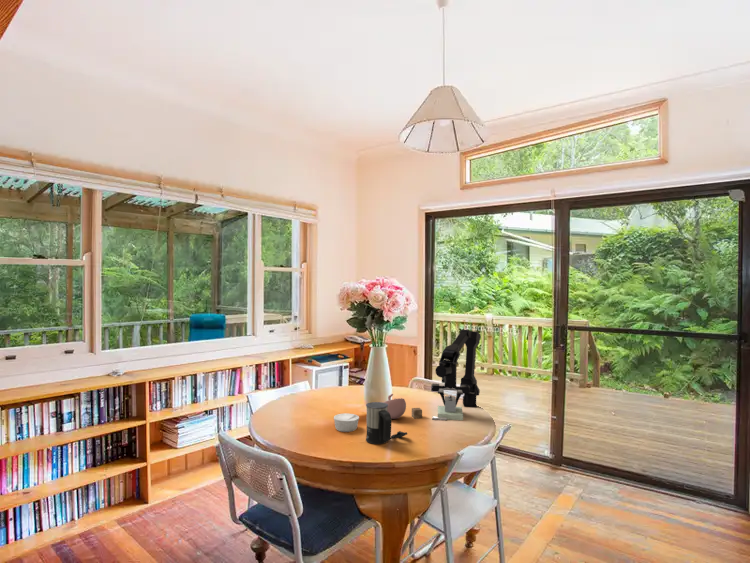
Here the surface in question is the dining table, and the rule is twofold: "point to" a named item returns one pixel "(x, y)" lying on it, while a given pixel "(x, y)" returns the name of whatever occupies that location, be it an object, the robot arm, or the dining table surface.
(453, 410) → the block
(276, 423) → the dining table surface
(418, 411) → the walnut block
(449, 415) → the pale green flat slab
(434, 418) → the steel pin
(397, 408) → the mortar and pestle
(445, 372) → the robot arm
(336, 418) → the ramekin
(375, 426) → the milk frother
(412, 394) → the dining table surface
